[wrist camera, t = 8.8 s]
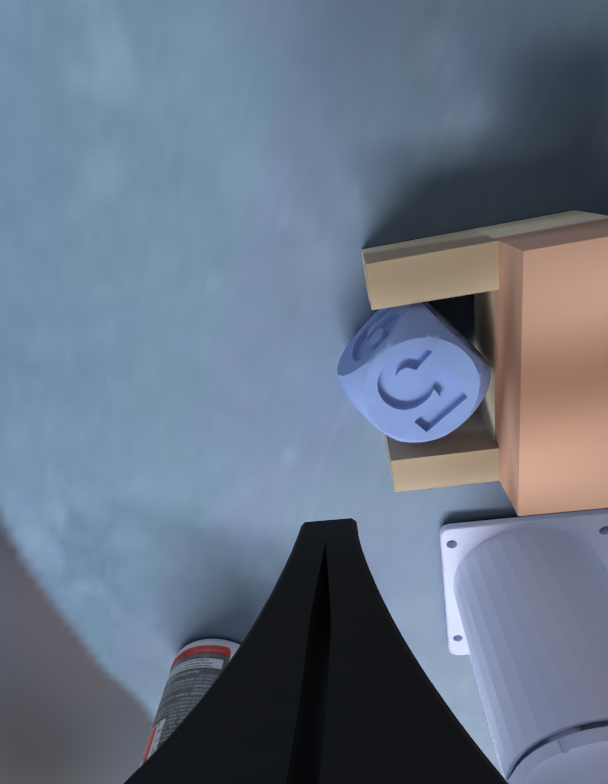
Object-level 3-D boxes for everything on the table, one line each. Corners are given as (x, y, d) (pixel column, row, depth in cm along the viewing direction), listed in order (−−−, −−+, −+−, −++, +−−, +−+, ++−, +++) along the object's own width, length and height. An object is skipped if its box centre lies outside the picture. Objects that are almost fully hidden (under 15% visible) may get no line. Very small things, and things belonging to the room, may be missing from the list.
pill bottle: (165, 674, 29) (90, 894, 20) (190, 623, 27) (118, 846, 18) (247, 701, 30) (209, 924, 21) (279, 652, 28) (252, 882, 19)
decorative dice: (403, 409, 20) (418, 462, 16) (335, 352, 19) (335, 395, 15) (475, 345, 18) (509, 387, 15) (405, 279, 17) (423, 308, 14)
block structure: (560, 429, 20) (627, 505, 15) (387, 450, 21) (401, 527, 16) (574, 210, 16) (669, 225, 11) (361, 249, 17) (370, 277, 12)
